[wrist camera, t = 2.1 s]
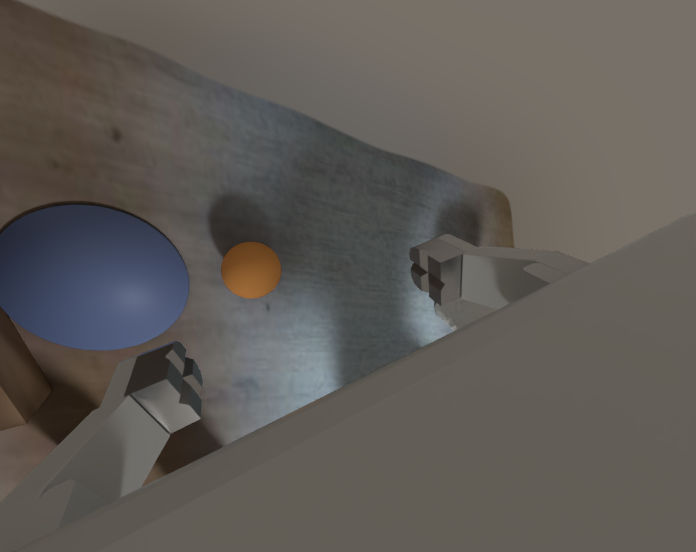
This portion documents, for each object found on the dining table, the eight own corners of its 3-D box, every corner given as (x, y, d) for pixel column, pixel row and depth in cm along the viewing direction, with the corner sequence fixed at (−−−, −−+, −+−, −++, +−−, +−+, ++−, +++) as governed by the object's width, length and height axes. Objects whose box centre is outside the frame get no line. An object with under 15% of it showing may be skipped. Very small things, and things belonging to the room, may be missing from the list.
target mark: (166, 197, 25) (165, 198, 25) (203, 330, 30) (203, 331, 30) (-54, 213, 20) (-57, 213, 20) (38, 365, 26) (36, 367, 26)
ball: (273, 232, 29) (281, 246, 24) (280, 280, 31) (288, 301, 27) (216, 239, 27) (213, 255, 23) (227, 289, 30) (227, 314, 25)
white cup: (474, 269, 42) (536, 298, 34) (471, 313, 46) (528, 348, 37) (430, 285, 40) (485, 319, 31) (431, 329, 43) (481, 371, 35)
